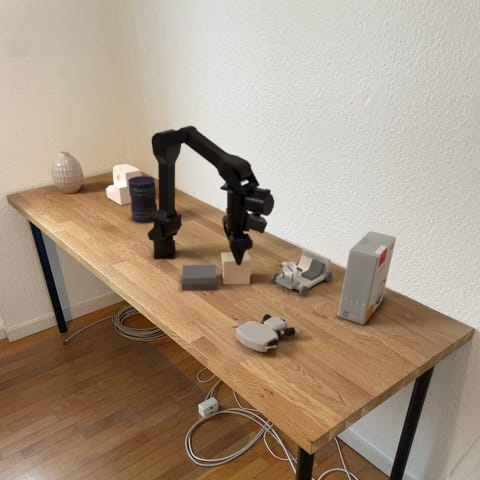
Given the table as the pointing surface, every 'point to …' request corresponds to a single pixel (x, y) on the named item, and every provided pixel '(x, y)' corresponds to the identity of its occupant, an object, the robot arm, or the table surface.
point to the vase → (67, 172)
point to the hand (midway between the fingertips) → (236, 258)
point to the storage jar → (143, 199)
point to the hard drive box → (366, 276)
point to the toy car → (304, 272)
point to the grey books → (199, 277)
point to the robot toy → (263, 333)
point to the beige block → (236, 276)
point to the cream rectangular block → (230, 262)
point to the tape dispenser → (122, 183)
